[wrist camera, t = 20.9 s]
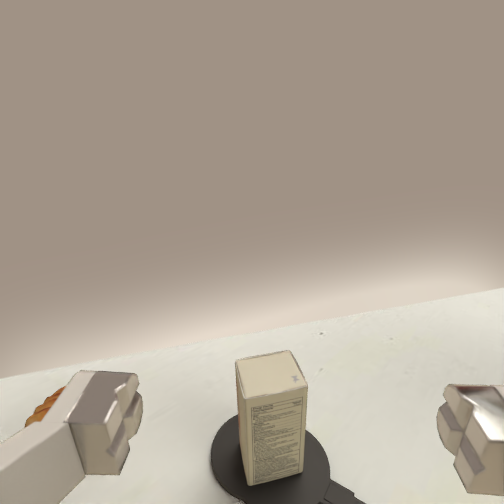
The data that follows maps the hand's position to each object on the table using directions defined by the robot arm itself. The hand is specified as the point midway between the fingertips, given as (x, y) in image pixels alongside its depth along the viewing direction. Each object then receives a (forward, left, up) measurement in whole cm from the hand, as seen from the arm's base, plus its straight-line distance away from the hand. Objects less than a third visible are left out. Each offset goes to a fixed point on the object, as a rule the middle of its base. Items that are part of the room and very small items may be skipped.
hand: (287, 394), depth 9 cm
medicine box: (0, -14, -22) cm, 26 cm away
